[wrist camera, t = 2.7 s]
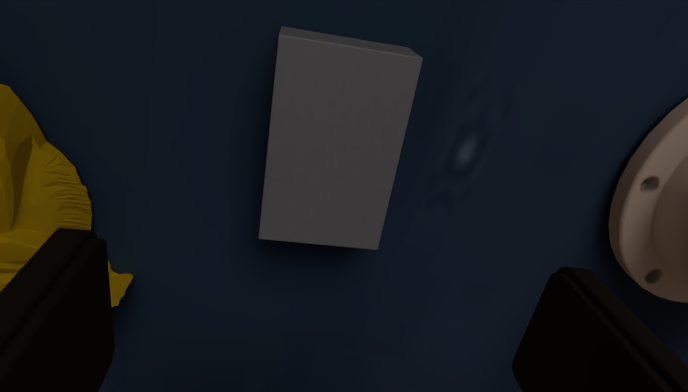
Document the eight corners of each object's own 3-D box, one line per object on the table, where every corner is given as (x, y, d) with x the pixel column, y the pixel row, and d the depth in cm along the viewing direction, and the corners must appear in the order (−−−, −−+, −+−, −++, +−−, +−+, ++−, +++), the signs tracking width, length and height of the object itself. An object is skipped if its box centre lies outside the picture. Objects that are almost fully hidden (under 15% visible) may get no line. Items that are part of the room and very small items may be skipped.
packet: (408, 47, 18) (423, 58, 16) (369, 222, 21) (377, 250, 19) (281, 26, 17) (278, 34, 15) (262, 211, 20) (258, 239, 18)
